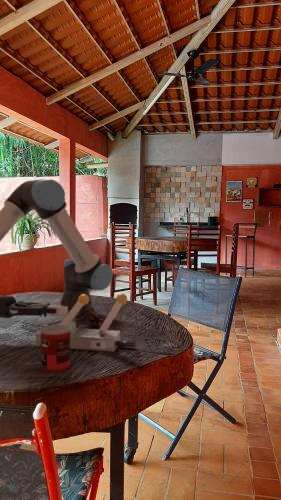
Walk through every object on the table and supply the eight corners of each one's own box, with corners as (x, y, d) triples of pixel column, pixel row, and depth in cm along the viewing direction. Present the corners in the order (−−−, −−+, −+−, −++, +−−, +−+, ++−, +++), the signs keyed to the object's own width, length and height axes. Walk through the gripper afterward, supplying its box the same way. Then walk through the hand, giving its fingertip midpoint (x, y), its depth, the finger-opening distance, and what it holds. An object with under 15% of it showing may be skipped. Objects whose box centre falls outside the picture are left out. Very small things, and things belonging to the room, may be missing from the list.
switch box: (47, 337, 131) (47, 326, 131) (137, 343, 126) (138, 332, 125) (35, 346, 121) (35, 334, 121) (132, 353, 116) (132, 340, 116)
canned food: (43, 362, 108) (43, 324, 107) (71, 361, 109) (71, 324, 108) (38, 373, 101) (38, 332, 100) (68, 372, 101) (68, 332, 100)
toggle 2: (98, 327, 125) (121, 290, 123) (107, 333, 125) (130, 296, 123) (94, 331, 121) (118, 292, 119) (104, 337, 120) (127, 298, 118)
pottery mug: (102, 332, 139) (91, 314, 137) (80, 342, 141) (69, 324, 139) (106, 316, 151) (96, 299, 149) (85, 325, 153) (75, 309, 150)
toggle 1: (58, 324, 127) (84, 290, 125) (66, 331, 127) (92, 297, 125) (53, 328, 123) (80, 293, 121) (62, 335, 123) (88, 300, 120)
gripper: (10, 313, 135) (73, 317, 131) (-10, 322, 122) (59, 327, 118) (10, 292, 134) (73, 296, 130) (-10, 299, 121) (59, 303, 117)
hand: (66, 310), depth 124 cm, fingers closed
